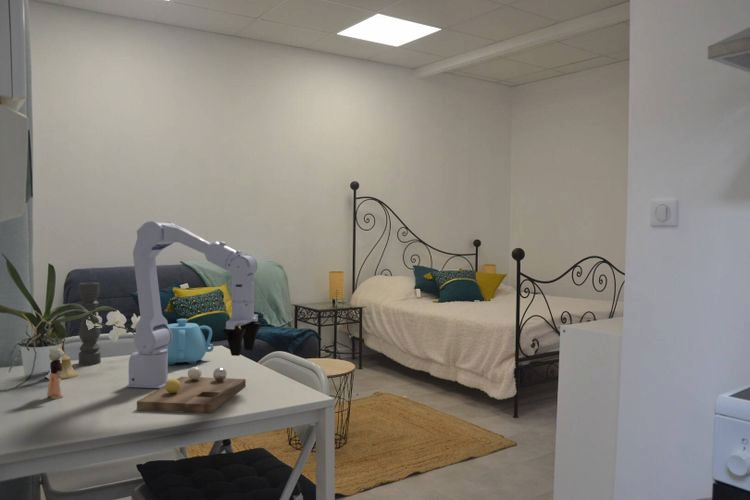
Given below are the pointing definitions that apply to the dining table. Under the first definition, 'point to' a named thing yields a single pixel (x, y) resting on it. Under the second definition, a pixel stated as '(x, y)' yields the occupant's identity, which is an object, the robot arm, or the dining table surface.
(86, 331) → the candle holder
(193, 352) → the decorative pot
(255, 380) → the dining table surface
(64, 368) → the hand bell
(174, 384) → the ball
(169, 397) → the hole plate
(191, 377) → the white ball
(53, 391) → the grandmother figurine
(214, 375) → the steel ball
